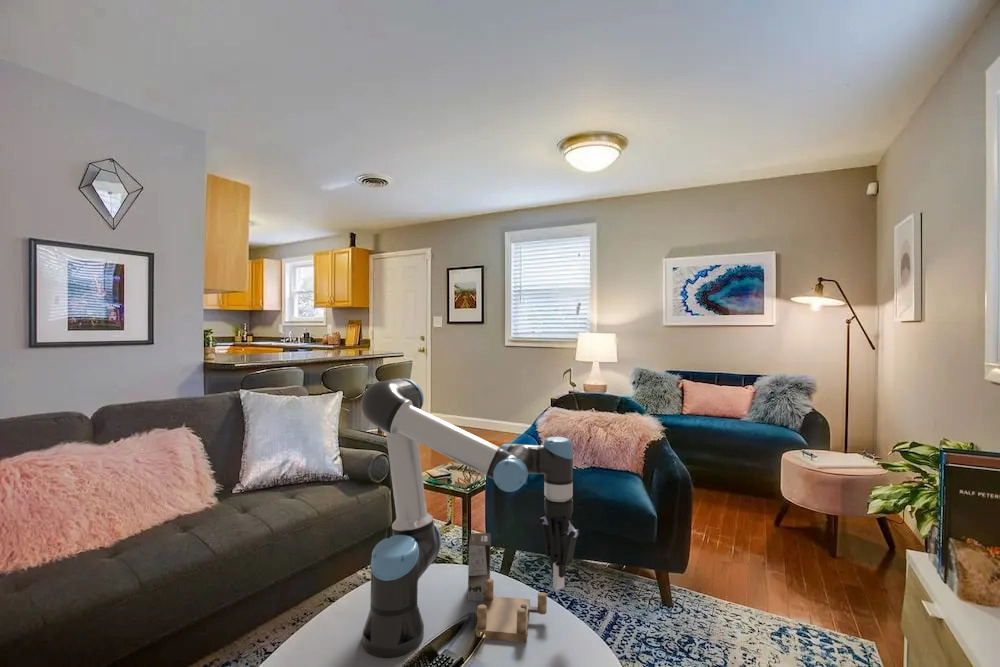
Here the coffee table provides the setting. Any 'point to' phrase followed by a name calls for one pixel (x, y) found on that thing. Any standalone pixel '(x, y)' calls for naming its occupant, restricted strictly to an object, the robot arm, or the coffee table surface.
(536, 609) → the rounded tan peg
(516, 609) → the wooden peg stand
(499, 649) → the coffee table surface
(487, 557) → the coffee box
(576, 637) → the coffee table surface
